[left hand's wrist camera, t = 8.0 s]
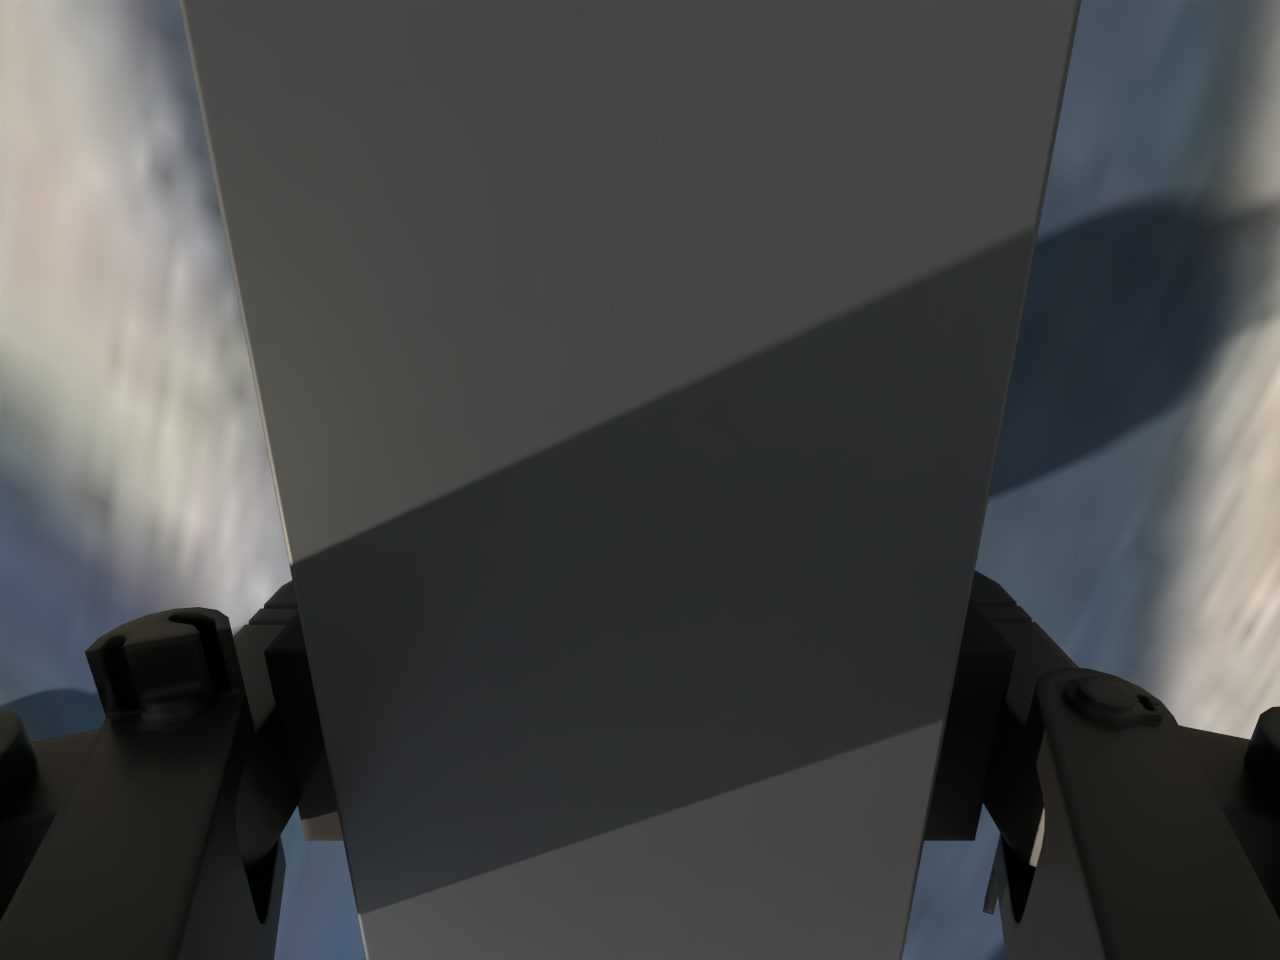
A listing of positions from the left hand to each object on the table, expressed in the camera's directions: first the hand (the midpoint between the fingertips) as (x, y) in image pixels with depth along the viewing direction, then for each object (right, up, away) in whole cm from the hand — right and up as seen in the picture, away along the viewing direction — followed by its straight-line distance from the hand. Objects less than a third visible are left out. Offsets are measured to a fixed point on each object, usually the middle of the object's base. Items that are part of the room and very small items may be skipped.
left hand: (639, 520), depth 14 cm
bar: (0, +8, -2) cm, 8 cm away
